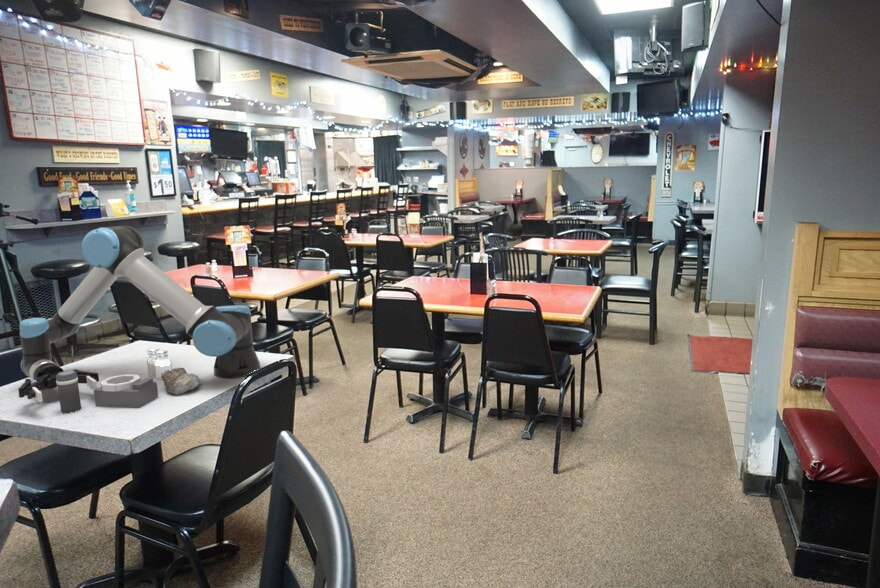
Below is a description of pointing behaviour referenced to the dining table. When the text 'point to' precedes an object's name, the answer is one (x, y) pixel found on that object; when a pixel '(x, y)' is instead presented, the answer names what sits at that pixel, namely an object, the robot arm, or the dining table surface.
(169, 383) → the grey brown rock
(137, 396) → the pen holder base
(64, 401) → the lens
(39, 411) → the dining table surface
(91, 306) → the robot arm
